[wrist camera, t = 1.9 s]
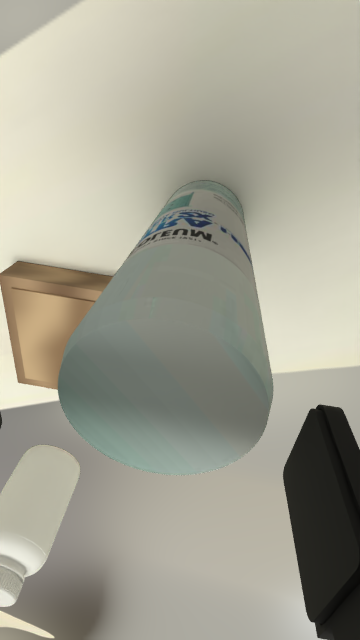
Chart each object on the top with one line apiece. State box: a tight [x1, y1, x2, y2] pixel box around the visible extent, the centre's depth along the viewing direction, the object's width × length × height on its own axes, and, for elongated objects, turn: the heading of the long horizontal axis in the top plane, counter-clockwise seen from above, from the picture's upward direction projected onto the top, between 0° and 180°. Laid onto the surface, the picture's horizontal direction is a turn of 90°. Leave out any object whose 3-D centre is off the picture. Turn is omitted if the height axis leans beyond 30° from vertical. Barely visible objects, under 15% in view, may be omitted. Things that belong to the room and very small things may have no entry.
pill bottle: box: [0, 445, 80, 607], centre depth 40 cm, size 8×8×15 cm
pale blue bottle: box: [58, 181, 273, 475], centre depth 18 cm, size 6×6×20 cm
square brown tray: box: [0, 261, 113, 390], centre depth 32 cm, size 12×12×3 cm
